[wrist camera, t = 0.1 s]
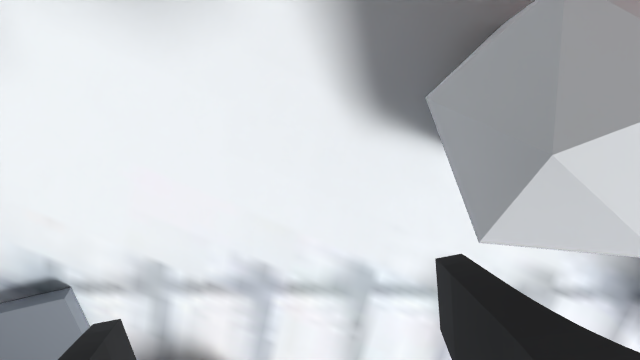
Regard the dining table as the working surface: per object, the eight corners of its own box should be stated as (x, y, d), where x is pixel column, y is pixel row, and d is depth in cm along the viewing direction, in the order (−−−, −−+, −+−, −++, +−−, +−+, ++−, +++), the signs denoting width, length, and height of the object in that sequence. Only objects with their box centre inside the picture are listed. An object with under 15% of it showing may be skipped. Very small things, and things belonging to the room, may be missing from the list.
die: (358, 98, 21) (463, 338, 16) (498, -121, 14) (749, 175, 9) (505, 106, 25) (625, 299, 20) (667, -62, 18) (902, 166, 14)
